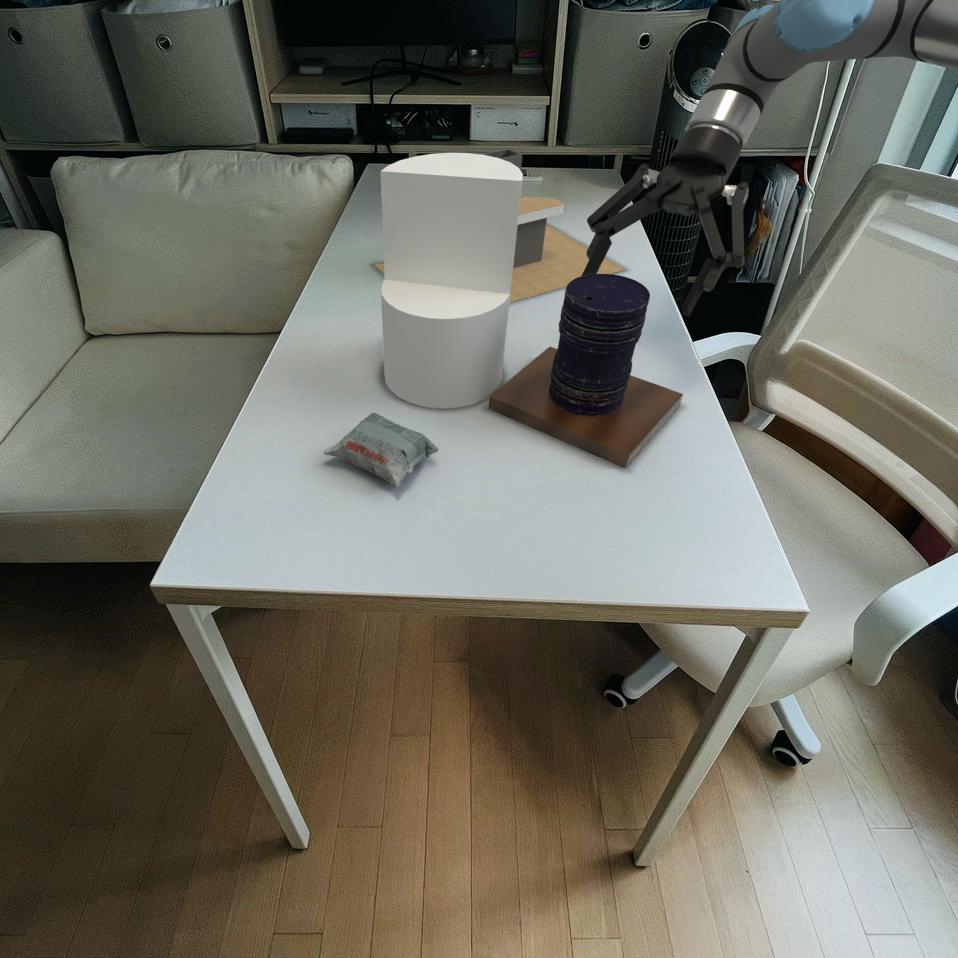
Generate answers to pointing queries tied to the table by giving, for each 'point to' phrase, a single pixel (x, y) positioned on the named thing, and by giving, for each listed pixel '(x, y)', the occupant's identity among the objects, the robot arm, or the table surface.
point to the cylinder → (447, 275)
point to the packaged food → (383, 448)
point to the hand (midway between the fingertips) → (632, 297)
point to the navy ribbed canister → (597, 343)
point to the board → (599, 435)
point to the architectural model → (542, 246)
